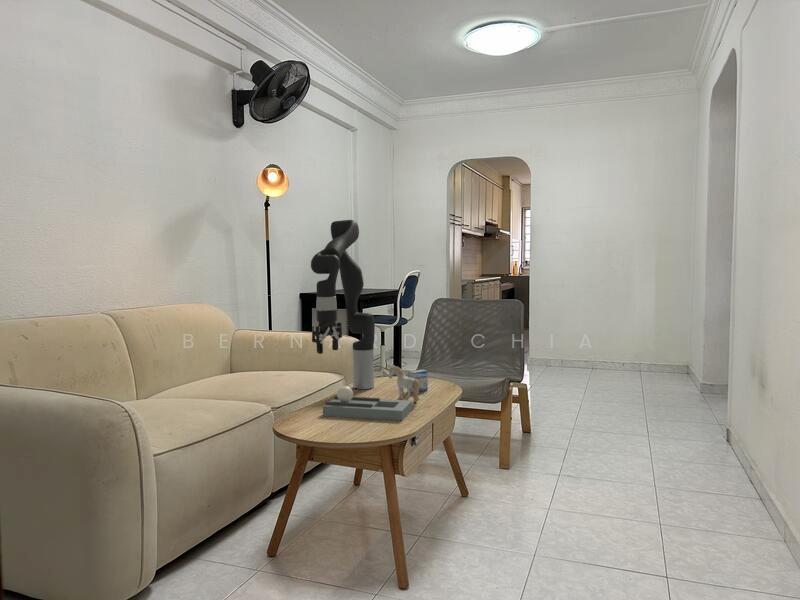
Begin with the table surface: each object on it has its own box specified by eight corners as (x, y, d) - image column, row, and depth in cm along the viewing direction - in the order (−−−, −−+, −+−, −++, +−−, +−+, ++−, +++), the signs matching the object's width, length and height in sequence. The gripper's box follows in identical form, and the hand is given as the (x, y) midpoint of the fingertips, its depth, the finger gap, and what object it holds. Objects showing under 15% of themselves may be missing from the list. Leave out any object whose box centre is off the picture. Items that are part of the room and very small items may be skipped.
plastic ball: (340, 399, 223) (340, 384, 223) (355, 400, 221) (355, 385, 221) (334, 403, 217) (334, 387, 217) (350, 404, 216) (349, 388, 215)
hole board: (337, 405, 228) (337, 394, 228) (412, 409, 221) (412, 398, 220) (322, 415, 214) (322, 403, 214) (402, 420, 206) (402, 408, 206)
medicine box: (414, 393, 248) (414, 372, 248) (407, 391, 252) (407, 371, 251) (428, 390, 253) (428, 370, 253) (421, 388, 257) (421, 369, 256)
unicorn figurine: (390, 395, 244) (390, 363, 244) (428, 402, 232) (428, 368, 232) (379, 398, 239) (379, 366, 238) (417, 405, 227) (417, 371, 226)
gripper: (331, 306, 225) (332, 348, 226) (305, 309, 213) (307, 353, 214) (346, 307, 221) (347, 349, 222) (321, 310, 209) (322, 355, 210)
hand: (327, 351), depth 218 cm, fingers open, 8 cm apart
